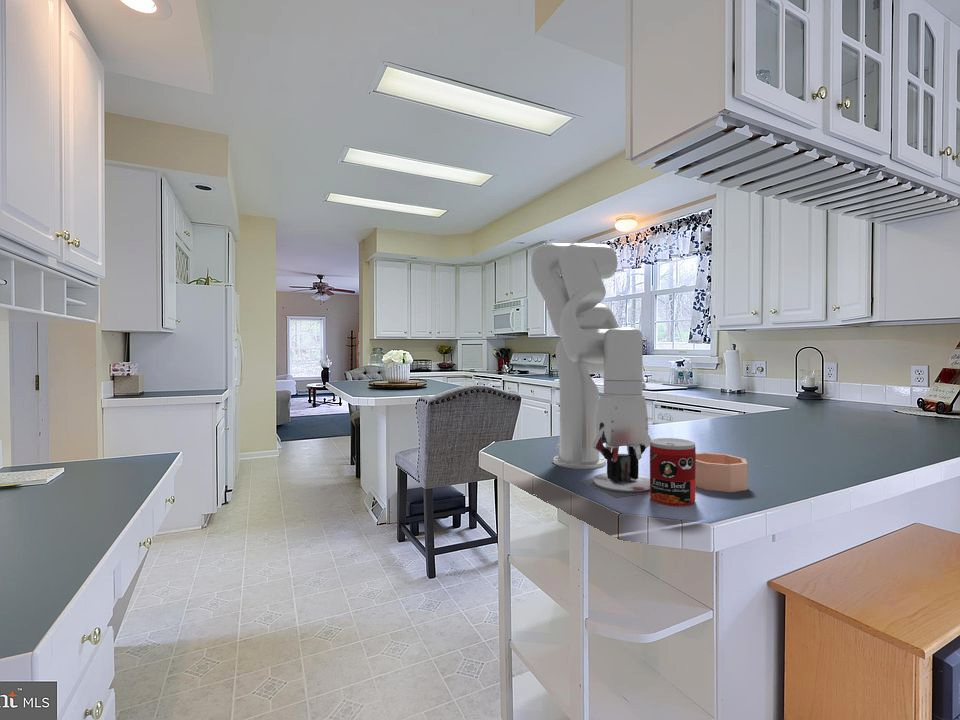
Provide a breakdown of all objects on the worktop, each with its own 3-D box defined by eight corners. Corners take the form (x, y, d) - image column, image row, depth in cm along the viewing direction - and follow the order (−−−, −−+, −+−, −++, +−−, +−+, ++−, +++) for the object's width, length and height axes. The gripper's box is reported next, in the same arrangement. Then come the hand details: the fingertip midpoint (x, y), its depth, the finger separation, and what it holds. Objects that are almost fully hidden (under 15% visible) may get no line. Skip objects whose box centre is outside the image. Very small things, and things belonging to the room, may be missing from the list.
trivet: (577, 481, 98) (577, 479, 98) (628, 475, 103) (628, 474, 103) (616, 499, 86) (615, 497, 86) (671, 492, 91) (671, 490, 91)
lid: (582, 480, 98) (582, 452, 98) (627, 475, 102) (627, 447, 102) (617, 495, 87) (617, 464, 87) (666, 489, 91) (666, 458, 91)
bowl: (675, 481, 98) (675, 455, 98) (714, 476, 102) (714, 451, 102) (717, 495, 88) (718, 466, 88) (759, 489, 92) (759, 462, 92)
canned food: (645, 503, 84) (645, 443, 84) (655, 492, 90) (655, 436, 90) (691, 511, 79) (691, 447, 79) (698, 499, 86) (698, 440, 86)
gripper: (643, 386, 100) (643, 470, 101) (577, 388, 95) (577, 478, 95) (669, 389, 93) (668, 479, 94) (598, 391, 88) (598, 488, 88)
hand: (622, 478), depth 94 cm, fingers open, 3 cm apart
